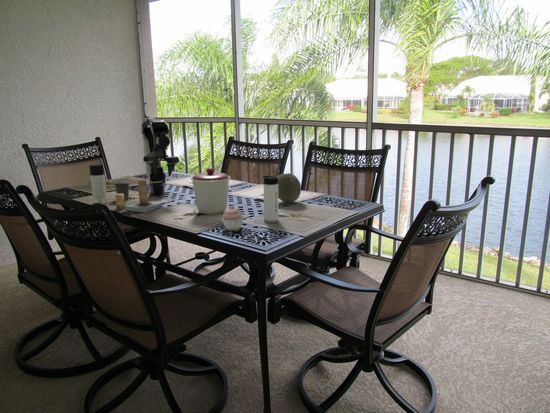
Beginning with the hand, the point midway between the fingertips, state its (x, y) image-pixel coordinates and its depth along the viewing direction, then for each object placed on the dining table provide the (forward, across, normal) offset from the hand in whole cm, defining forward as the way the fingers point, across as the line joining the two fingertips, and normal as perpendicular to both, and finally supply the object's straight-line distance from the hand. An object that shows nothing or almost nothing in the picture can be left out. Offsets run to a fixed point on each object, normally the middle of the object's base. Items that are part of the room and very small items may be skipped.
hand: (162, 175), depth 225 cm
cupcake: (+13, +58, -31) cm, 67 cm away
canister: (+13, +36, -11) cm, 40 cm away
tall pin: (+13, +2, -18) cm, 22 cm away
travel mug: (+13, +68, -15) cm, 71 cm away
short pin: (+13, -9, -22) cm, 27 cm away
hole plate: (+13, +2, -18) cm, 22 cm away
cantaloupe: (+13, +62, +19) cm, 66 cm away
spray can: (+13, -26, -18) cm, 34 cm away
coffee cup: (+13, -21, -7) cm, 26 cm away
